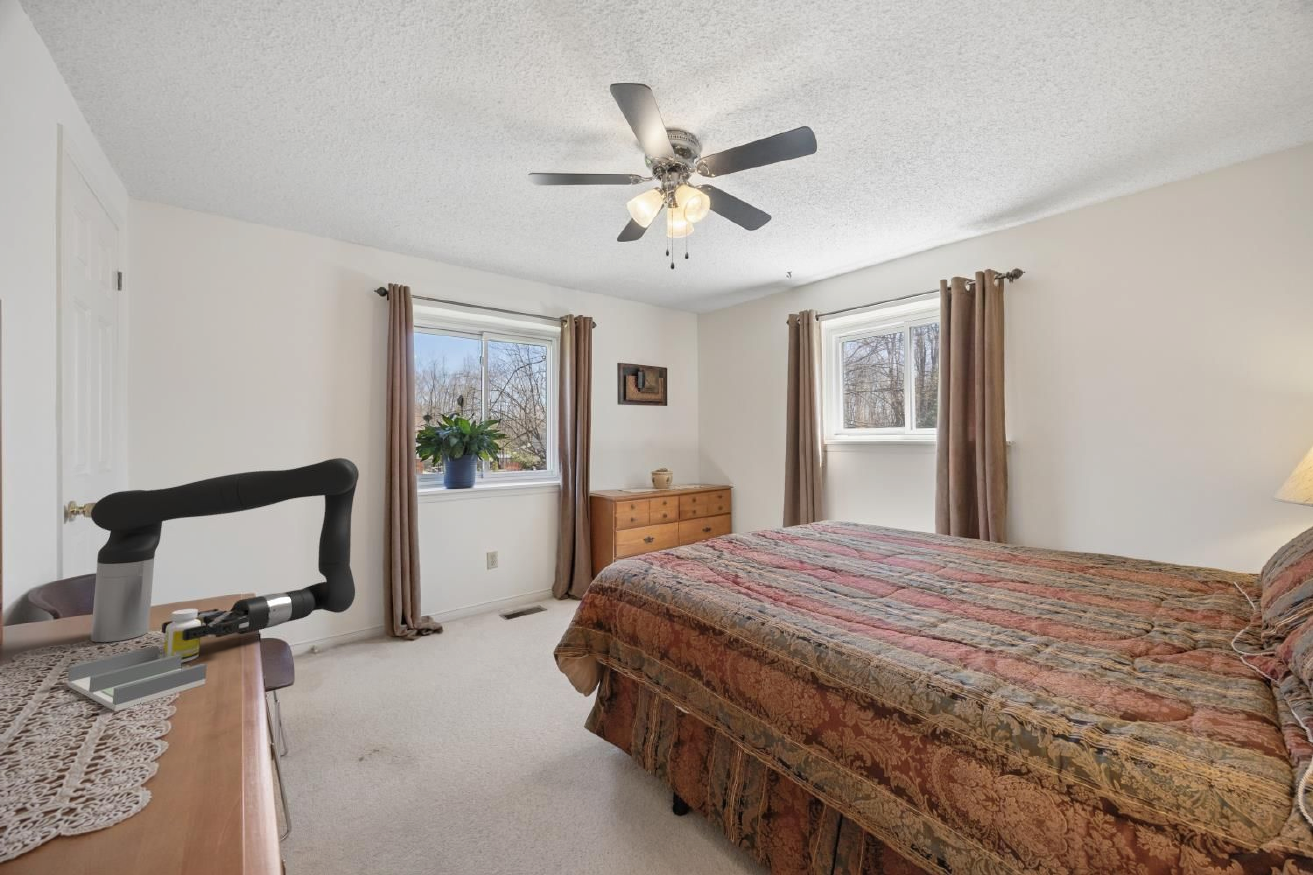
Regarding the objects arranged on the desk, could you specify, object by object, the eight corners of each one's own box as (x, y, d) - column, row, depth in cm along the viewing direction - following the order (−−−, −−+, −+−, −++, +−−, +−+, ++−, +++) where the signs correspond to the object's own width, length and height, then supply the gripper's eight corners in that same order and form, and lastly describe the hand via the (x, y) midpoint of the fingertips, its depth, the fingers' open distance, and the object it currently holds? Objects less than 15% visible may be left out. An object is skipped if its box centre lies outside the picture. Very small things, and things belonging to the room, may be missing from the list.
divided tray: (67, 685, 92) (68, 665, 92) (154, 663, 103) (156, 645, 103) (115, 711, 84) (117, 689, 84) (205, 683, 95) (206, 664, 95)
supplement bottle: (206, 655, 108) (209, 608, 108) (179, 665, 103) (183, 615, 103) (182, 653, 108) (186, 606, 109) (155, 663, 103) (159, 614, 104)
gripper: (246, 591, 122) (157, 608, 107) (281, 600, 116) (191, 618, 101) (244, 623, 122) (154, 644, 107) (279, 633, 116) (188, 657, 101)
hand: (172, 631), depth 104 cm, fingers open, 8 cm apart
